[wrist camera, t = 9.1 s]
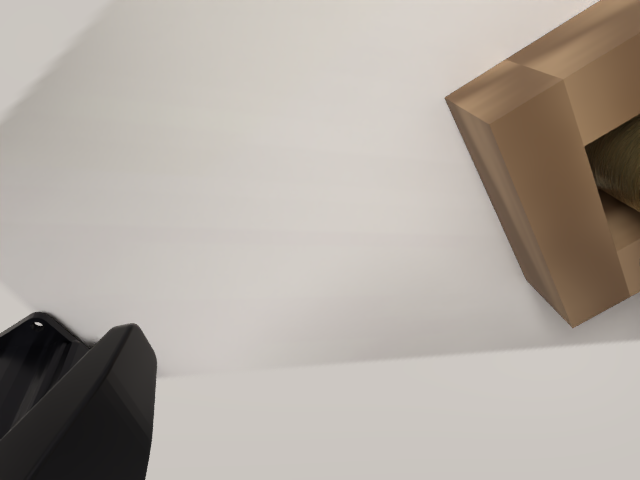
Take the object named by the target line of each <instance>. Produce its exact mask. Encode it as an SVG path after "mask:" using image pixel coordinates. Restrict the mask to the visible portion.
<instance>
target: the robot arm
mask: <svg viewBox="0 0 640 480" xmlns="http://www.w3.org/2000/svg"><path fill="white" fill-rule="evenodd" d="M34 322H39V323H41V324H42V325H43V326H38V325H36V324H35V323H34ZM156 373H157V359H156V355H155V352H154V350H153V349H152V347H151V345H150V344H149V342H148V340H147V339H146V337H145V335H144V333H143V332H142V330H141V328H140V327H139V326H138V325H137V324H134V323H130V324H125V325H120V326H116V327H113V328H112V329H110V330H109V331H108V332H107V333H106V334H105V335H104V336H103V337H102V338H101V339H100V340H99V341H98V342H97V343H96V344H95V345H94V346H93V347H92V348H91V349H89V348H88V347H87V346H85V345H84V344H83V343H82V342H80V341H78V340H77V339H76V338H75V337H74V336H72V335H71V334H70V333H69V332H68V331H67V330H65V329H64V328H63V327H62V326H61V325H59V324H58V323H57V322H56V321H55V320H54V319H52V318H51V317H50V316H49V315H47V314H45V313H42V312H35V313H32V314H30V315H29V316H27V317H26V318H24V319H22V320H21V321H19V322H18V323H16V324H15V325H13V326H11V327H10V328H8V329H7V330H5V331H3V332H2V333H0V480H145V477H146V472H147V466H148V461H149V455H150V448H151V442H152V432H153V418H154V403H155V387H156Z"/></svg>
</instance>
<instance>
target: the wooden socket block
mask: <svg viewBox="0 0 640 480" xmlns="http://www.w3.org/2000/svg"><path fill="white" fill-rule="evenodd" d="M445 100H446V102H447V104H448V106H449V109H450V111H451V113H452V115H453V118H454V120H455V122H456V124H457V126H458V129H459V131H460V133H461V135H462V138H463V140H464V142H465V144H466V147H467V149H468V151H469V153H470V155H471V158H472V160H473V162H474V164H475V167H476V169H477V171H478V173H479V176H480V178H481V180H482V182H483V185H484V187H485V189H486V191H487V193H488V196H489V198H490V200H491V202H492V205H493V207H494V209H495V211H496V214H497V216H498V218H499V220H500V222H501V225H502V227H503V229H504V231H505V234H506V236H507V238H508V240H509V243H510V245H511V247H512V249H513V251H514V254H515V256H516V258H517V260H518V263H519V265H520V267H521V269H522V272H523V274H524V276H525V278H526V280H527V281H528V282H529V283H530V284H531V285H532V286H533V287H534V289H535V290H536V291H537V292H538V293H539V294H540V295H541V296H542V297H543V298H544V299H545V300H546V301H547V302H548V303H549V304H550V305H551V306H552V307H553V308H554V309H555V310H556V311H557V312H558V313H559V314H560V315H561V317H562V318H563V319H564V320H565V321H566V322H567V323H568V324H569V325H570V326H571V327H572V328H574V327H576V326H578V325H580V324H581V323H583V322H585V321H587V320H589V319H591V318H592V317H594V316H596V315H598V314H600V313H602V312H603V311H605V310H607V309H609V308H611V307H613V306H614V305H616V304H618V303H620V302H622V301H623V300H625V299H627V298H629V297H631V296H633V295H634V294H636V293H638V292H640V212H638V211H637V210H635V209H633V208H631V207H630V206H628V205H626V204H625V203H623V202H621V201H620V200H618V199H616V198H615V197H613V196H611V195H609V194H608V193H606V192H604V191H603V190H601V189H598V190H597V187H596V183H595V180H594V177H593V174H592V171H591V167H590V164H589V161H588V158H587V154H586V151H585V148H584V146H586V145H588V144H589V143H591V142H593V141H594V140H596V139H598V138H599V137H601V136H603V135H604V134H606V133H608V132H610V131H611V130H613V129H615V128H616V127H618V126H620V125H621V124H623V123H625V122H626V121H628V120H630V119H632V118H633V117H635V116H637V115H638V114H640V0H600V1H599V2H597V3H595V4H594V5H592V6H591V7H589V8H587V9H586V10H584V11H583V12H581V13H579V14H578V15H576V16H575V17H573V18H571V19H570V20H568V21H567V22H565V23H563V24H562V25H560V26H559V27H557V28H555V29H554V30H552V31H551V32H549V33H547V34H546V35H544V36H543V37H541V38H539V39H538V40H536V41H535V42H533V43H531V44H530V45H528V46H527V47H525V48H523V49H522V50H520V51H519V52H517V53H515V54H514V55H512V56H511V57H509V58H507V59H506V60H504V61H503V62H501V63H499V64H498V65H496V66H495V67H493V68H491V69H490V70H488V71H487V72H485V73H483V74H482V75H480V76H478V77H477V78H475V79H474V80H472V81H470V82H469V83H467V84H466V85H464V86H462V87H461V88H459V89H458V90H456V91H454V92H453V93H451V94H450V95H448V96H446V97H445Z"/></svg>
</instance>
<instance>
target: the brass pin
mask: <svg viewBox="0 0 640 480" xmlns="http://www.w3.org/2000/svg"><path fill="white" fill-rule="evenodd" d="M584 148H585V151H586V154H587V158H588V161H589V164H590V167H591V171H592V174H593V177H594V180H595V183H596V187H598V188H599V189H601V190H603V191H604V192H606V193H608V194H609V195H611V196H613V197H615V198H616V199H618V200H620V201H621V202H623V203H625V204H626V205H628V206H630V207H631V208H633V209H635V210H637V211H638V212H640V114H638V115H637V116H635V117H633V118H632V119H630V120H628V121H626V122H625V123H623V124H621V125H620V126H618V127H616V128H615V129H613V130H611V131H610V132H608V133H606V134H604V135H603V136H601V137H599V138H598V139H596V140H594V141H593V142H591V143H589V144H588V145H586V146H584Z"/></svg>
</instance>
